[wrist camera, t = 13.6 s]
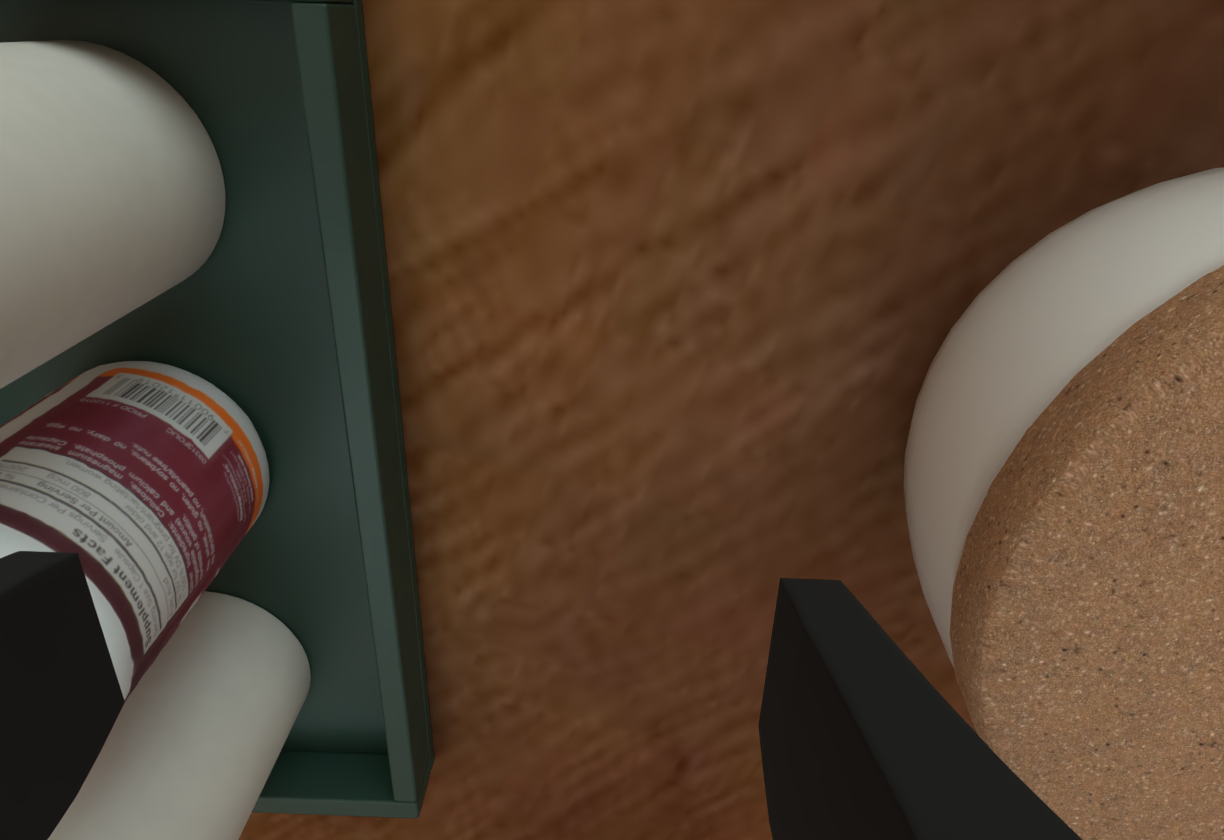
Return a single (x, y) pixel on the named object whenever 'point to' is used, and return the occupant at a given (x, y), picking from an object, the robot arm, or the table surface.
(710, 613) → the table surface
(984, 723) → the trinket box
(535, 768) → the table surface
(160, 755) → the pale bottle far
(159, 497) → the pill bottle
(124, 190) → the pale bottle near
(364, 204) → the tray
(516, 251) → the table surface
